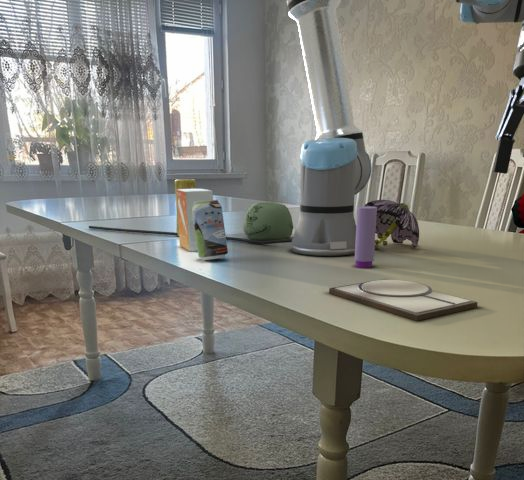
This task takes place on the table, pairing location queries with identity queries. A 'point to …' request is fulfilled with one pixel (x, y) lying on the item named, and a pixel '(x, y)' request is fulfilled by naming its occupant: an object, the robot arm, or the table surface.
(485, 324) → the table surface
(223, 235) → the green printed package
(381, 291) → the board
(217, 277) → the table surface
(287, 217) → the green rounded lump
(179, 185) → the vase
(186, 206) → the small box
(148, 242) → the table surface
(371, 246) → the cylinder
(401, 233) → the decorative flower
